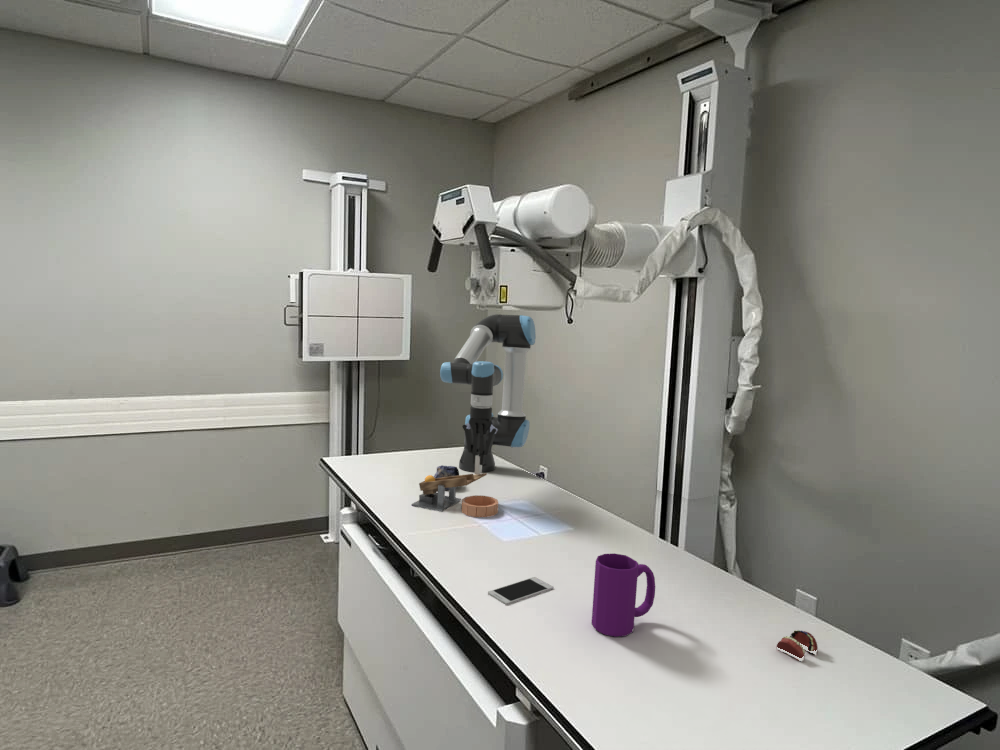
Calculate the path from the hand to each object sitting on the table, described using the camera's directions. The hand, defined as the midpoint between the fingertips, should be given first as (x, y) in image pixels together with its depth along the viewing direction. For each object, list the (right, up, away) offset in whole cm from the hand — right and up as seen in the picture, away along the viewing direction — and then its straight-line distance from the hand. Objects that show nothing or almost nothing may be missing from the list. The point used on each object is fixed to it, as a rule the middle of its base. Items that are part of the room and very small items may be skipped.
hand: (478, 473), depth 220 cm
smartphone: (+13, -19, -67) cm, 70 cm away
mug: (+35, -21, -81) cm, 90 cm away
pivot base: (-14, -10, -3) cm, 17 cm away
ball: (-17, -2, -3) cm, 17 cm away
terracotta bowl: (+1, -11, -10) cm, 15 cm away
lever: (-8, -5, -2) cm, 9 cm away
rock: (-13, -8, +17) cm, 22 cm away
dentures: (+69, -24, -89) cm, 115 cm away
